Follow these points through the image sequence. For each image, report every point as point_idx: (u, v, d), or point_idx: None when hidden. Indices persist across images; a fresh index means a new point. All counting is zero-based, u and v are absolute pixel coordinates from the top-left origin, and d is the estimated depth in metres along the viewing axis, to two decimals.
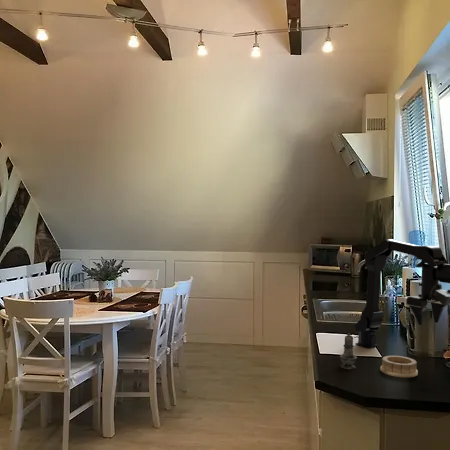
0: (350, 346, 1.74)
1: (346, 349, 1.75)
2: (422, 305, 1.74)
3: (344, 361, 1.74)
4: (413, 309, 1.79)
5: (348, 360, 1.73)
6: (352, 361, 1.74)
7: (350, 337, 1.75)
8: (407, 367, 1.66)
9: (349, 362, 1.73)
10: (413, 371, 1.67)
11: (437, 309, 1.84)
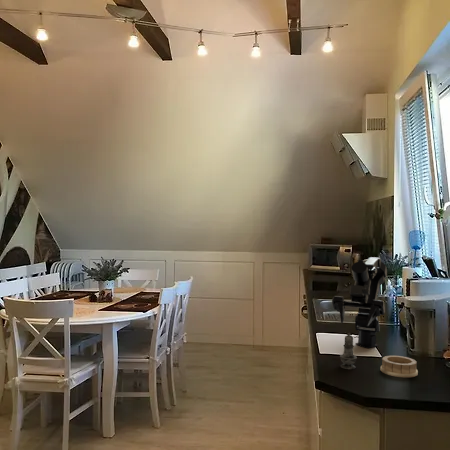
0: (350, 346, 1.74)
1: (346, 349, 1.75)
2: (335, 299, 1.89)
3: (344, 361, 1.74)
4: (340, 312, 1.90)
5: (348, 360, 1.73)
6: (352, 361, 1.74)
7: (350, 337, 1.75)
8: (407, 367, 1.66)
9: (349, 362, 1.73)
10: (413, 371, 1.67)
11: None
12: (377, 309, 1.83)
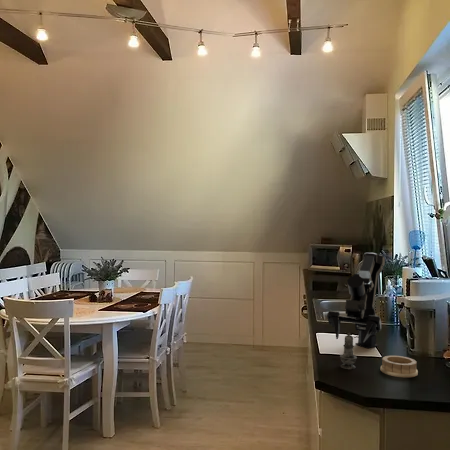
0: (350, 346, 1.74)
1: (346, 349, 1.75)
2: (330, 314, 1.84)
3: (344, 361, 1.74)
4: None
5: (348, 360, 1.73)
6: (352, 361, 1.74)
7: (350, 337, 1.75)
8: (407, 367, 1.66)
9: (349, 362, 1.73)
10: (413, 371, 1.67)
11: None
12: (373, 325, 1.77)
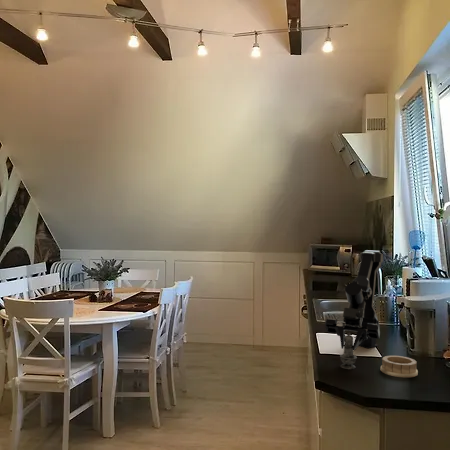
0: (350, 346, 1.74)
1: (346, 349, 1.75)
2: (327, 322, 1.81)
3: (344, 361, 1.74)
4: None
5: (348, 360, 1.73)
6: (352, 361, 1.74)
7: (350, 337, 1.75)
8: (407, 367, 1.66)
9: (349, 362, 1.73)
10: (413, 371, 1.67)
11: None
12: (364, 332, 1.76)
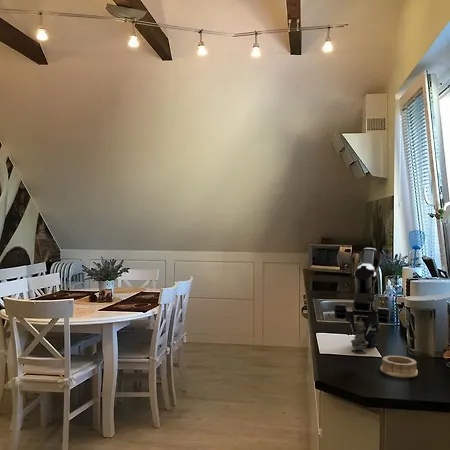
0: (362, 331, 1.73)
1: (358, 334, 1.73)
2: (337, 308, 1.79)
3: (356, 346, 1.72)
4: (350, 322, 1.79)
5: (360, 345, 1.72)
6: (364, 346, 1.72)
7: (362, 322, 1.73)
8: (407, 367, 1.66)
9: (361, 347, 1.72)
10: (413, 371, 1.67)
11: None
12: (375, 317, 1.74)
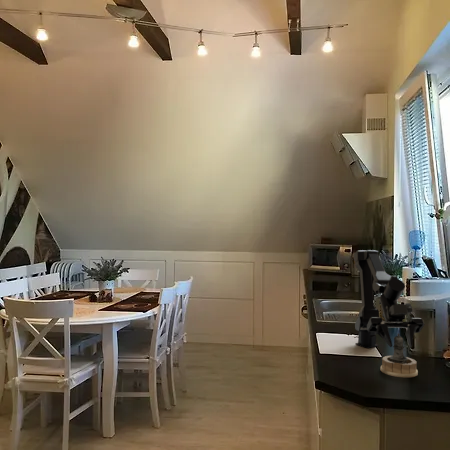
0: (402, 347, 1.71)
1: (398, 350, 1.71)
2: (375, 321, 1.73)
3: None
4: (381, 335, 1.75)
5: (403, 361, 1.69)
6: None
7: (401, 338, 1.71)
8: (407, 367, 1.66)
9: (404, 363, 1.70)
10: (413, 371, 1.67)
11: (408, 334, 1.74)
12: (415, 328, 1.74)
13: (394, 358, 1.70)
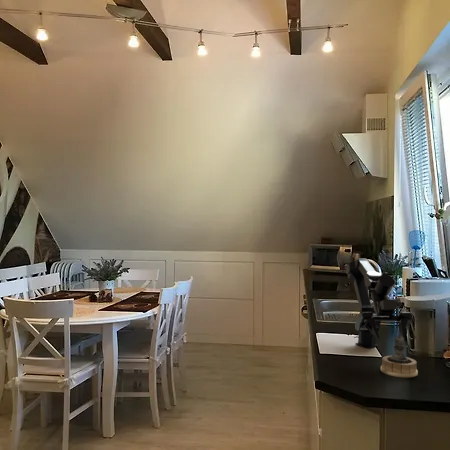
0: (403, 347, 1.71)
1: (399, 351, 1.70)
2: (366, 315, 1.82)
3: None
4: (368, 328, 1.84)
5: (403, 362, 1.69)
6: (406, 362, 1.70)
7: (402, 338, 1.71)
8: (407, 367, 1.66)
9: None
10: (413, 371, 1.67)
11: (401, 327, 1.83)
12: (407, 321, 1.83)
13: (394, 358, 1.70)
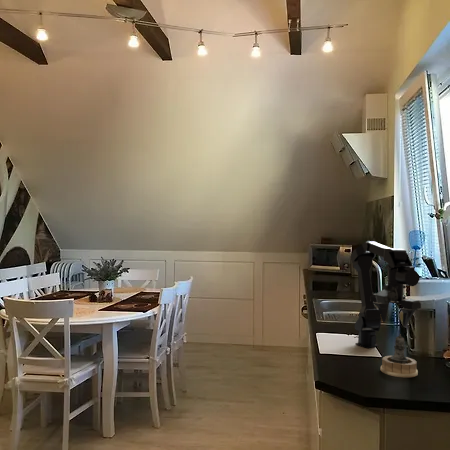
0: (403, 347, 1.71)
1: (399, 351, 1.70)
2: (371, 300, 1.92)
3: None
4: None
5: (403, 362, 1.69)
6: (406, 362, 1.70)
7: (403, 338, 1.71)
8: (407, 367, 1.66)
9: None
10: (413, 371, 1.67)
11: None
12: None
13: (394, 358, 1.70)
